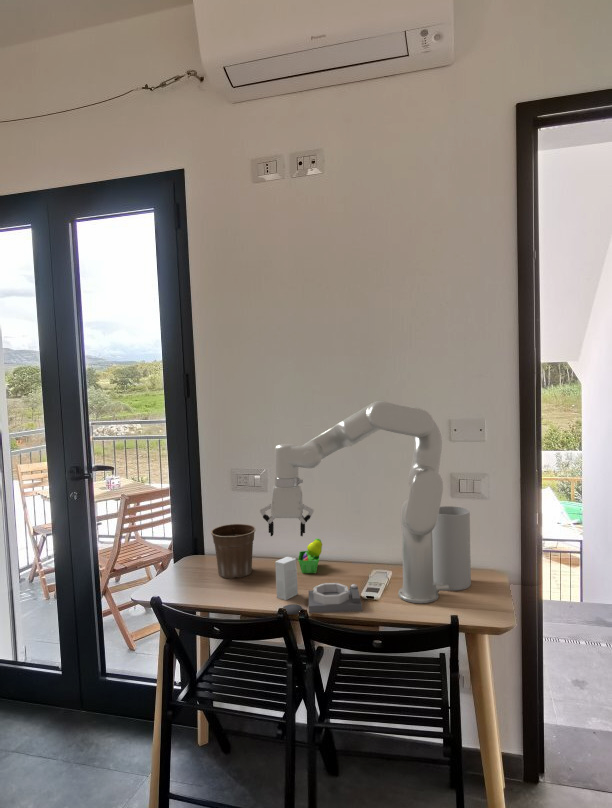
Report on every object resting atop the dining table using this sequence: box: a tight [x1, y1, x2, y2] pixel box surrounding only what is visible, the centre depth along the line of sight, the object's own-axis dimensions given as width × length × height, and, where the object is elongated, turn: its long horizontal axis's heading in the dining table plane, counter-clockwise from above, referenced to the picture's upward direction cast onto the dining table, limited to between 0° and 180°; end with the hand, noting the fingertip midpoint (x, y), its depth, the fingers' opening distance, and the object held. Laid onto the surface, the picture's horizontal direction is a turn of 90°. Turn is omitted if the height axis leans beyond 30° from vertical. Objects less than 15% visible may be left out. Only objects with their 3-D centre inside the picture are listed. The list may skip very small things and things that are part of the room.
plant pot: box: [210, 523, 256, 579], centre depth 197 cm, size 16×16×16 cm
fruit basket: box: [297, 538, 323, 574], centre depth 200 cm, size 11×9×11 cm
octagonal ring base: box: [308, 582, 363, 613], centre depth 168 cm, size 16×12×4 cm
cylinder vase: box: [432, 505, 472, 591], centre depth 180 cm, size 12×12×25 cm
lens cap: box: [282, 603, 303, 615], centre depth 164 cm, size 6×6×1 cm
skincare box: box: [274, 556, 299, 601], centre depth 175 cm, size 6×4×12 cm
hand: (286, 535), depth 174 cm, fingers open, 9 cm apart
